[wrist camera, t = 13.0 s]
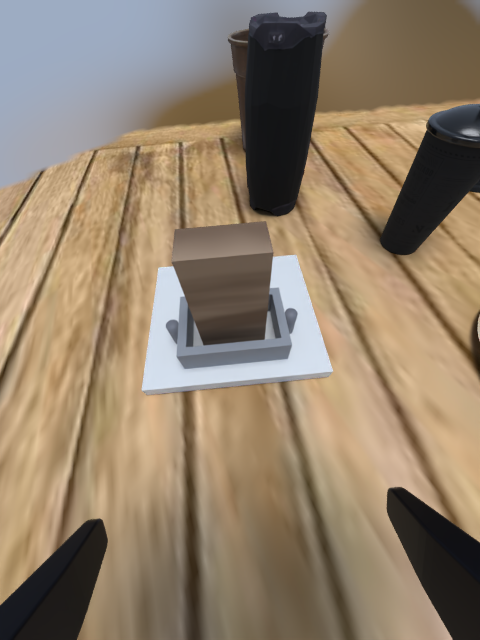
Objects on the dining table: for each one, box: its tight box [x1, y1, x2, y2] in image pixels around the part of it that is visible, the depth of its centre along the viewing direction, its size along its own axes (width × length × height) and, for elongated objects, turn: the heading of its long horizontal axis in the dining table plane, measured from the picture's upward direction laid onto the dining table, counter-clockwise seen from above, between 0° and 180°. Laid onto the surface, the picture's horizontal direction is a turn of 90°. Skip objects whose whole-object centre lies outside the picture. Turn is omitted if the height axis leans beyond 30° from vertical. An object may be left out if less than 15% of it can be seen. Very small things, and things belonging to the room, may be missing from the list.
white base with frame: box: [142, 255, 333, 395], centre depth 26 cm, size 16×18×4 cm
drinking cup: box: [380, 104, 480, 255], centre depth 25 cm, size 8×8×20 cm
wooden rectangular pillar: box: [172, 221, 273, 345], centre depth 20 cm, size 4×6×12 cm, turn 95°
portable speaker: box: [245, 12, 327, 216], centre depth 32 cm, size 9×9×20 cm
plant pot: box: [228, 28, 329, 150], centre depth 45 cm, size 16×16×16 cm
